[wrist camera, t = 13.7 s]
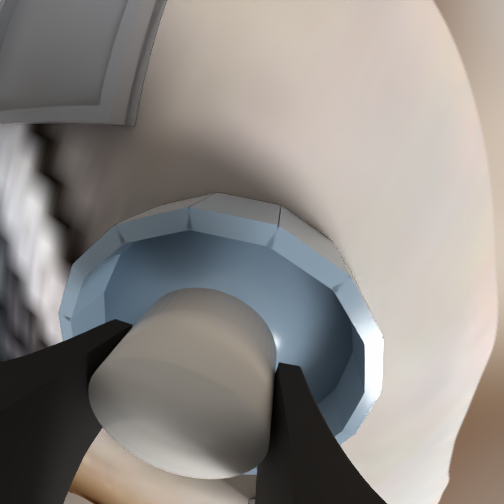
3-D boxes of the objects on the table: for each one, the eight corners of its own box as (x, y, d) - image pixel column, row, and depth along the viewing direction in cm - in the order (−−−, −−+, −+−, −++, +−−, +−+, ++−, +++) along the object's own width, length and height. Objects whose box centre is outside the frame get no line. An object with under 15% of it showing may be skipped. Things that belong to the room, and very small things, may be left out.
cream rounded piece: (145, 384, 10) (107, 451, 7) (138, 275, 9) (72, 333, 5) (265, 409, 10) (255, 490, 6) (288, 301, 8) (287, 384, 5)
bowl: (110, 388, 17) (83, 427, 14) (108, 174, 13) (54, 183, 9) (313, 438, 17) (315, 487, 13) (400, 234, 12) (439, 264, 9)
